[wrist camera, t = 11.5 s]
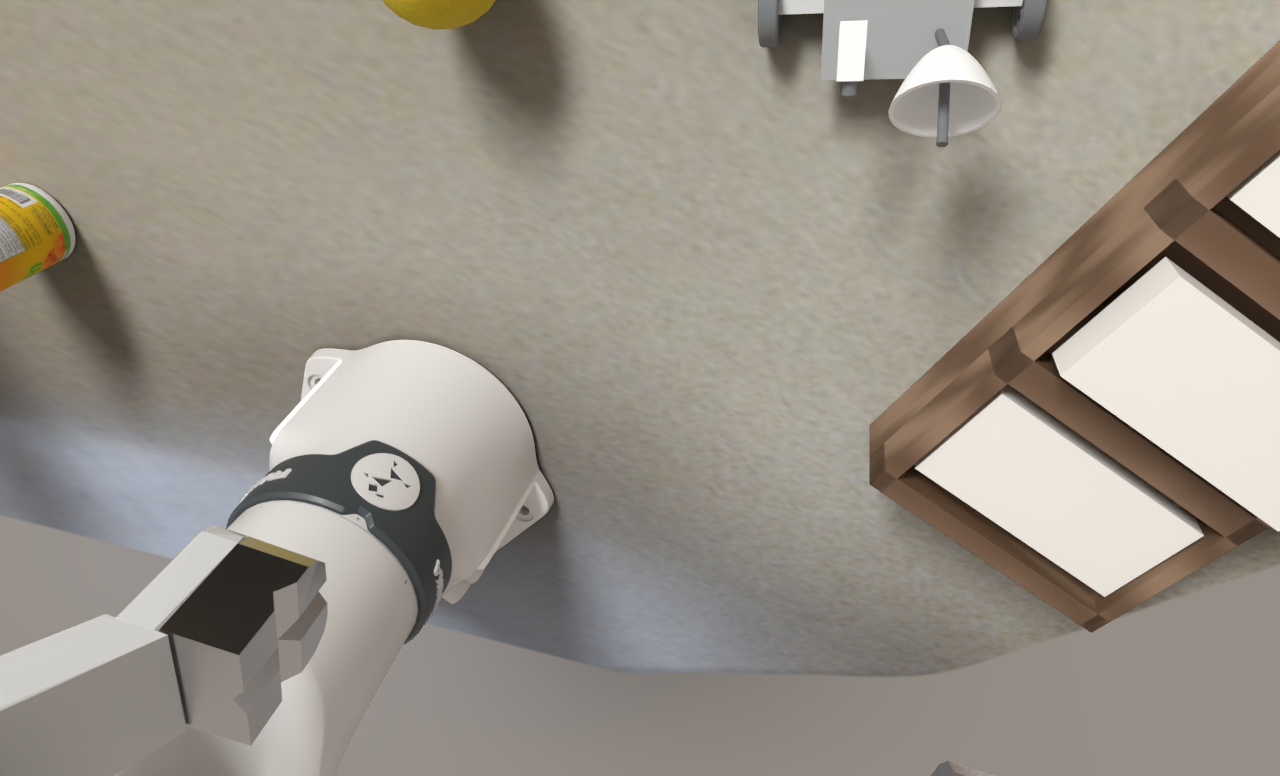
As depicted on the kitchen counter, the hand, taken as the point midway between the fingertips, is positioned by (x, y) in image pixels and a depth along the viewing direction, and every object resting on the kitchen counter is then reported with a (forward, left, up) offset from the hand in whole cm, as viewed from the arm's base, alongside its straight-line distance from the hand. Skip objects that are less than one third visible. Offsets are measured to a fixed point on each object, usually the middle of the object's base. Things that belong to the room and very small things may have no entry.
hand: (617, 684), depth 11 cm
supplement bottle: (-35, +35, -35) cm, 61 cm away
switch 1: (-8, -23, -32) cm, 40 cm away
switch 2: (+1, -23, -30) cm, 37 cm away
